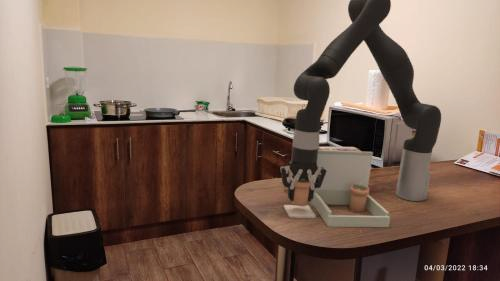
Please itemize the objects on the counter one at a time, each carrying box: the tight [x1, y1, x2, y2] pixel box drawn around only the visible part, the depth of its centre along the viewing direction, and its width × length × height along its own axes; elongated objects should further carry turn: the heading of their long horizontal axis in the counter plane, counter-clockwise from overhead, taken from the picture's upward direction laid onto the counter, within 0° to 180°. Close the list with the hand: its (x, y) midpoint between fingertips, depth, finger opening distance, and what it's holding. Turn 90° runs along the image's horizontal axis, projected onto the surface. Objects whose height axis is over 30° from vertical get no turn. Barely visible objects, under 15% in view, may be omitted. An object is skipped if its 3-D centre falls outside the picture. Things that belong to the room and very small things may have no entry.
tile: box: [283, 204, 317, 219], centre depth 111 cm, size 8×8×1 cm
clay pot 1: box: [291, 179, 312, 206], centre depth 110 cm, size 6×6×9 cm
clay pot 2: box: [348, 182, 370, 213], centre depth 116 cm, size 6×6×9 cm
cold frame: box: [311, 150, 391, 228], centre depth 110 cm, size 18×17×18 cm
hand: (300, 200), depth 111 cm, fingers closed on clay pot 1, 4 cm apart
